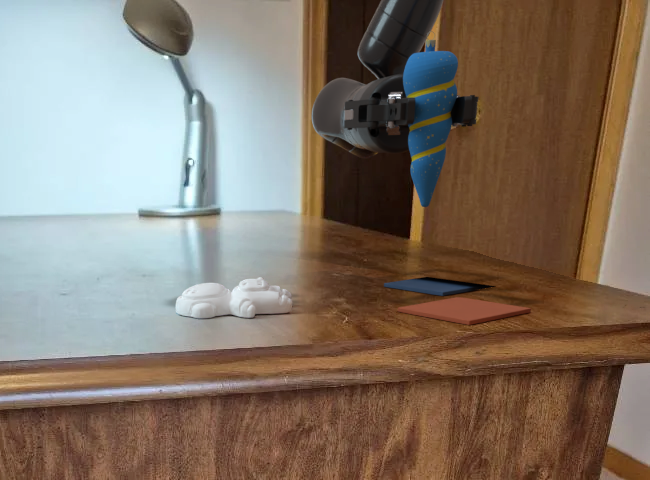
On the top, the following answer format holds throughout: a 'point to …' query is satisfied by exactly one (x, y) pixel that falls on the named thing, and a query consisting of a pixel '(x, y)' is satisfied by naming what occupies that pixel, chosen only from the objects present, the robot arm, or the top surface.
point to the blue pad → (436, 286)
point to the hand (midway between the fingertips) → (439, 110)
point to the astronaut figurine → (234, 300)
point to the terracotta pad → (464, 310)
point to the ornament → (429, 114)
